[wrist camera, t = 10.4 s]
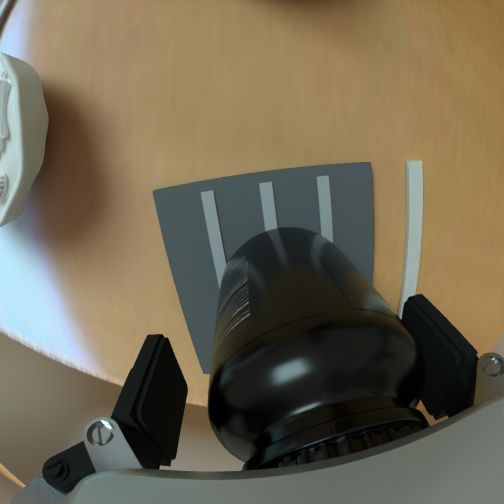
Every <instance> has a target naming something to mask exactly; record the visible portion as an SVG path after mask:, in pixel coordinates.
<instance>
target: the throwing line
mask: <svg viewBox="0 0 504 504" xmlns="http://www.w3.org/2000/svg"><path fill="white" fill-rule="evenodd" d="M406 184H407V224H406V247H405V261H404V272H403V282H402V291H401V299H400V306H399V313H398V316H399V318H400V319H402V313H403V306H404V303H405V301H407V299H408V297H410V296H414V295H415V293H416V286H417V278H418V270H419V261H420V250H421V236H422V215H423V176H422V161H406Z"/></svg>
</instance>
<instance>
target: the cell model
mask: <svg viewBox="0 0 504 504" xmlns="http://www.w3.org/2000/svg"><path fill="white" fill-rule="evenodd" d="M48 124H49V117H48V112H47V108H46V104H45V101H44V96H43V88H42V83H41V80H40V77H39V75H38V74H37V72H36V71H35V69H34V68H33V67H32V66H30V65H29V64H28V63H26V62H25V61H23V60H20V59H18V58H15V57H12V56H10V55H7V54H5V53H2V52H0V227H2V226H3V225H5V224H7V223H9V222H10V221H12V220H14V219H15V218H17V217H18V216H19V215H20V214H21V213H22V211H23V209H24V207H25V204H26V201H27V198H28V195H29V192H30V189H31V187H32V184H33V182H34V180H35V178H36V176H37V175H38V173H39V171H40V169H41V167H42V164H43V161H44V154H45V143H46V136H47V130H48Z"/></svg>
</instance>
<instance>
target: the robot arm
mask: <svg viewBox="0 0 504 504" xmlns="http://www.w3.org/2000/svg"><path fill="white" fill-rule="evenodd" d="M401 320H402V321H403V323H404V324H405V325H406V326H407V327H408V329H409V330H410V331H411V333H412V334H413V336H414V337H415V339H416V340H417V342H418V344H419V345H420V347H421V350H422V352H423V355H424V361H425V384H424V389H423V393H422V396H421V401H422V403H423V405H424V407H425V408H426V410H427V412H428V413H429V415H433V417H434V418H435V420H438V419H440V418H442V417H445V416H446V415H447V416H448V417H449V418H448V419H446V420H444V421H442V422H439V423H437V424H435V425H433V426H430V427H428V428H426V429H423V430H421V431H419V432H416V433H414V434H411V435H409V436H406V437H403V438H401V439H398V440H395V441H392V442H389V443H386V444H383V445H380V446H377V447H374V448H371V449H367V450H364V451H360V452H357V453H353V454H349V455H345V456H341V457H337V458H332V459H328V460H323V461H318V462H313V463H307V464H301V465H295V466H288V467H280V468H271V469H261V470H248V471H224V472H198V471H173V470H159V468H160V465H162V466H170V465H171V460H174V459H175V458H176V454H177V448H178V442H179V436H180V431H181V425H182V420H183V414H184V409H185V403H186V398H187V393H188V387H187V383H186V381H185V379H184V376H183V374H182V371H181V369H180V367H179V364H178V362H177V359H176V357H175V354H174V352H173V349H172V347H171V344H170V341H169V339H168V338H167V337H166V338H164V336H163V335H162V334H154V335H148V336H147V337H146V339H145V341H144V344H143V346H142V348H141V350H140V353H139V355H138V357H137V359H136V362H135V364H134V366H133V368H132V369H131V370H130V372H129V374H128V377H127V379H126V381H125V384H124V386H123V388H122V391H121V393H120V396H119V398H118V401H117V403H116V406H115V408H114V411H113V413H112V416H111V418H107V417H102V418H101V417H100V418H97V419H94V420H93V421H91V422H90V423H89V424H88V425H87V426H86V427H85V429H84V431H83V440H84V441H82V442H80V443H79V444H77V445H75V446H73V447H71V448H69V449H67V450H65V451H63V452H61V453H59V454H57V455H55V456H53V457H51V458H49V459H48V460H47V461H46V462H45V464H44V466H43V471H42V473H43V476H42V477H40V476H39V475H38V476H37V477H36V478H35V479H33V480H32V481H31V482H30V483H29V484H28V485H27V486H26V487H24V488H23V489H22V490H21V491H20V492H19V493H18V494H16V495H15V496H14V497H13V499H12V501H11V504H504V358H503V357H502V356H500V355H499V354H495V353H485V354H483V355H482V356H480V358H478V357H477V356H476V355H477V353H478V352H477V351H476V350H475V349H474V347H473V346H472V345H471V344H470V343H469V342H468V341H467V340H466V339H465V338H464V336H463V335H462V334H461V333H460V332H459V331H458V330H457V329H456V328H455V327H454V326H453V325H452V324H451V323H450V322H449V321H448V320H447V318H446V317H445V316H444V315H443V314H442V313H441V312H440V311H439V310H438V309H437V308H436V307H435V306H434V305H433V304H432V303H431V302H430V301H429V300H428V299H427V298H425V297H424V296H423V295H422V294H418V295H414V296H410V297H408V299H407V301H405V303H404V306H403V313H402V319H401Z"/></svg>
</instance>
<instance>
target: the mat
mask: <svg viewBox="0 0 504 504" xmlns="http://www.w3.org/2000/svg"><path fill="white" fill-rule="evenodd" d="M153 195H154V200H155V205H156V209H157V214H158V219H159V223H160V227H161V232H162V236H163V240H164V244H165V248H166V252H167V256H168V260H169V264H170V268H171V272H172V275H173V279H174V283H175V286H176V290H177V293H178V297H179V300H180V304H181V307H182V310H183V314H184V317H185V320H186V323H187V327H188V330H189V333H190V336H191V339H192V342H193V345H194V348H195V351H196V354H197V357H198V360H199V363H200V365H201V368H202V371H203V374H210V370H211V360H212V351H213V342H214V333H215V324H216V316H217V307H218V299H219V291H220V285H221V280H222V276H223V273H224V270H225V267H226V265H227V263H228V262H229V260H230V258H231V257H232V255H233V254H234V253H235V252H236V251H237V249H238V248H239V247H240V246H242V245H243V244H244V243H245V242H246V241H248V240H249V239H251V238H252V237H254V236H256V235H258V234H260V233H262V232H265V231H268V230H271V229H275V228H281V227H298V228H304V229H308V230H311V231H314V232H316V233H318V234H320V235H322V236H324V237H325V238H327V239H328V240H329V241H331V242H332V243H333V244H334V245H335V246H336V247H337V248H338V249H339V250H340V251H341V252H342V253H343V254H344V255H345V256H346V257H347V258H348V259H349V260H350V261H351V263H352V264H353V265H354V266H355V267H356V268H357V269H358V270H359V271H360V273H361V274H362V275H363V276H364V277H365V278H366V279H367V280H368V281H369V283H370V284H371V285H372V275H373V244H374V216H373V186H372V169H371V163H369V162H361V163H344V164H331V165H319V166H308V167H298V168H288V169H280V170H271V171H263V172H256V173H249V174H242V175H235V176H228V177H222V178H216V179H210V180H204V181H199V182H193V183H188V184H182V185H177V186H172V187H167V188H162V189H158V190H154V191H153Z"/></svg>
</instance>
